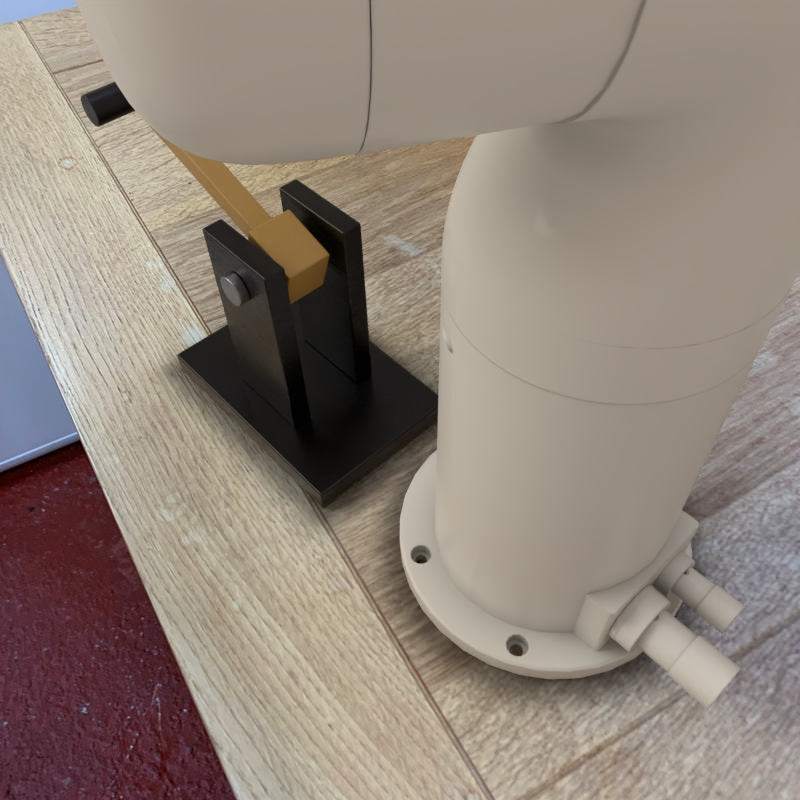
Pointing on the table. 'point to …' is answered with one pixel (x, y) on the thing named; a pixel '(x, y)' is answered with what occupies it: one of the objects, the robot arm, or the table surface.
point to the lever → (235, 203)
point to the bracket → (306, 357)
